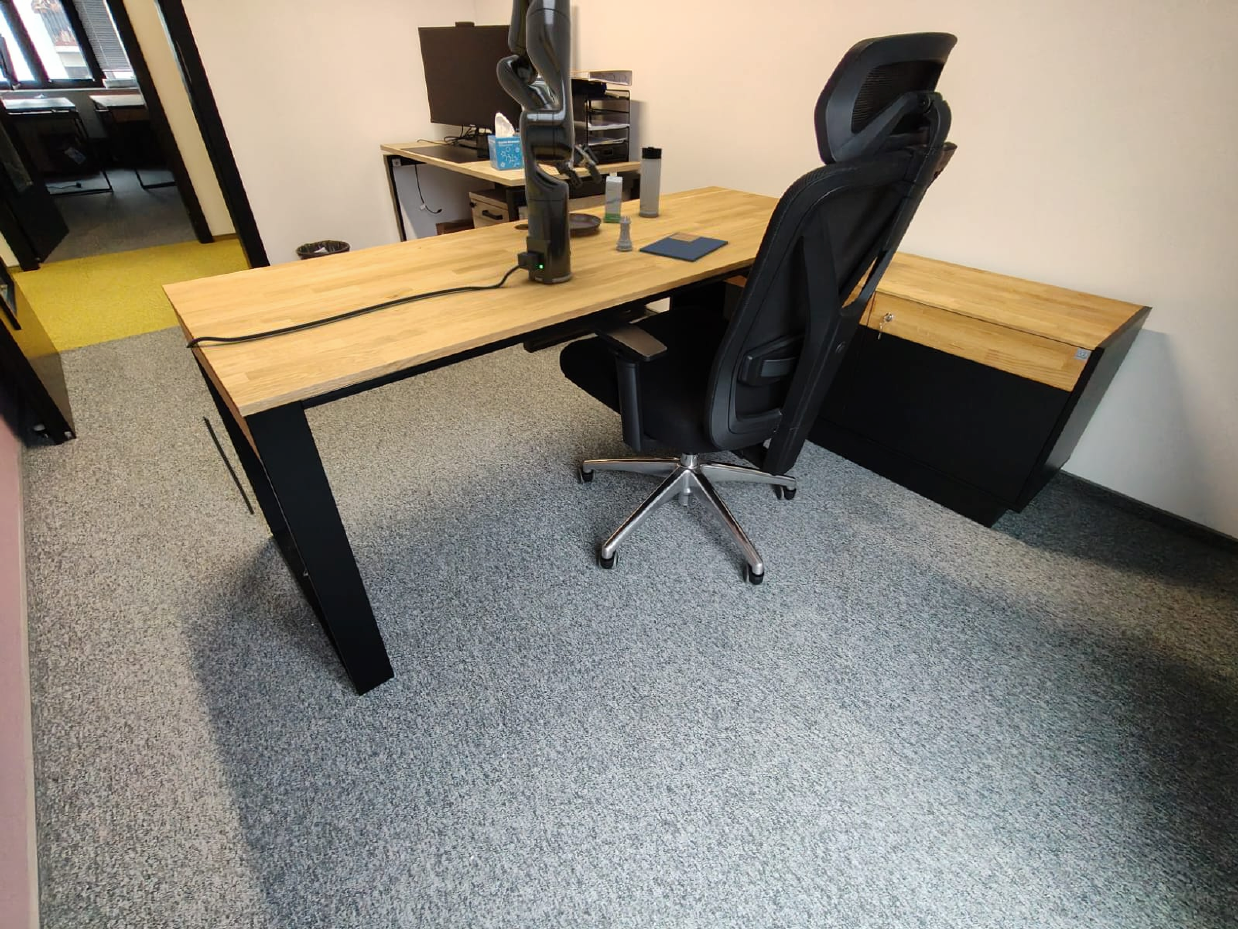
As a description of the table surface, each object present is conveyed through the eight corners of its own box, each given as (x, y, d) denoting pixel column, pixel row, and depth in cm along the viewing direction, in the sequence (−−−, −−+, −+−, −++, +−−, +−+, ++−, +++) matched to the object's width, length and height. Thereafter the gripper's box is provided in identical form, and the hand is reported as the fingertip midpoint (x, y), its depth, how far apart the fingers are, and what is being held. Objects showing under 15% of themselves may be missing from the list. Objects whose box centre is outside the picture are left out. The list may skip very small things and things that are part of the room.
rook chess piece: (622, 246, 153) (623, 214, 148) (635, 249, 151) (637, 217, 146) (612, 249, 150) (613, 217, 145) (626, 252, 148) (627, 220, 143)
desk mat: (692, 262, 143) (692, 258, 142) (639, 251, 149) (639, 247, 149) (728, 243, 158) (728, 240, 157) (678, 234, 164) (678, 231, 164)
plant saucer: (559, 241, 155) (559, 230, 153) (531, 227, 167) (530, 216, 165) (613, 233, 163) (613, 222, 161) (582, 220, 175) (582, 210, 173)
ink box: (605, 216, 181) (605, 175, 174) (621, 216, 181) (622, 176, 174) (604, 222, 174) (604, 180, 167) (621, 223, 174) (622, 181, 167)
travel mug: (637, 217, 181) (640, 146, 169) (640, 212, 186) (643, 143, 174) (657, 218, 180) (661, 147, 168) (659, 213, 185) (663, 144, 173)
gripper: (543, 119, 137) (581, 177, 139) (579, 115, 147) (614, 169, 149) (529, 141, 143) (565, 197, 145) (564, 136, 152) (598, 188, 154)
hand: (589, 183), depth 147 cm, fingers open, 8 cm apart
